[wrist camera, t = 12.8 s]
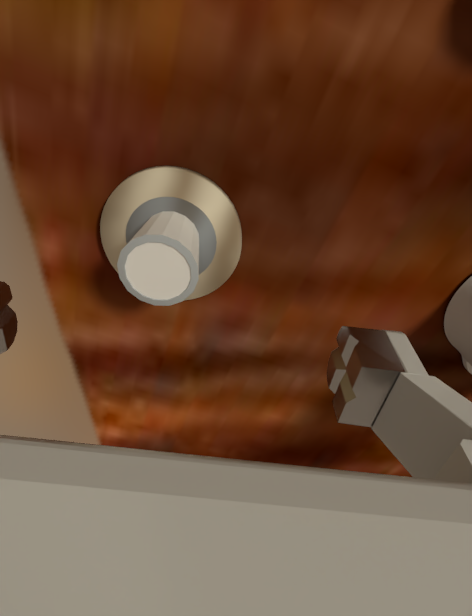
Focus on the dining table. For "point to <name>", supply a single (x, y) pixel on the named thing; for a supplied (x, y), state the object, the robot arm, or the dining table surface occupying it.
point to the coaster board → (184, 200)
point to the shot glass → (161, 260)
